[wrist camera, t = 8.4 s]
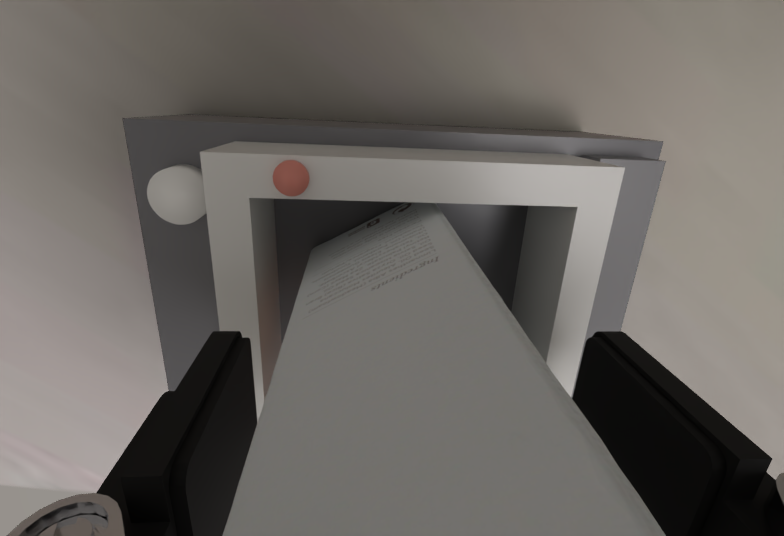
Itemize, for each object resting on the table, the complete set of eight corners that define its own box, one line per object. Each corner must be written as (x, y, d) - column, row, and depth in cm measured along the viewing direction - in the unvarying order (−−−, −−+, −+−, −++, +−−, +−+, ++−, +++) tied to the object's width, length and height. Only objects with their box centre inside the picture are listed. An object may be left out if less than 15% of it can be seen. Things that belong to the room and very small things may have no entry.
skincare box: (306, 248, 14) (56, 924, 2) (427, 187, 13) (803, 673, 2) (390, 386, 16) (463, 1078, 5) (496, 338, 15) (864, 975, 4)
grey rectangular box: (583, 132, 18) (752, 152, 10) (539, 356, 22) (638, 492, 14) (188, 114, 16) (43, 122, 9) (217, 358, 20) (133, 510, 13)
